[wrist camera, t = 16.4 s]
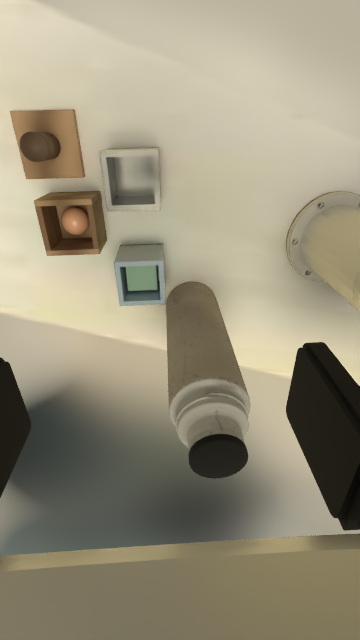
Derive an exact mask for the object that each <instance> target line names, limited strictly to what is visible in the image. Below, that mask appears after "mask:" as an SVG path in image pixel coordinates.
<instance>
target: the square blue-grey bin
mask: <svg viewBox="0 0 360 640" xmlns="http://www.w3.org/2000/svg"><path fill="white" fill-rule="evenodd" d="M153 265H157V272H158V290H141V291H128V284H127V275H126V267H127V266H153ZM114 266H115V274H116V281H117V289H118V296H119V304H120V306H130V305H154V304H165V274H164V254H163V244H143V245H120V248H119V251H118V253H117V256H116V258H115V261H114Z"/></svg>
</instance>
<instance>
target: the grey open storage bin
mask: <svg viewBox="0 0 360 640" xmlns="http://www.w3.org/2000/svg"><path fill="white" fill-rule="evenodd" d="M99 152H100V160H101V167H102V175H103V182H104V190H105V198H106V205H107V211H133V210H161V193H160V173H159V152H158V147H156V148H118V149H106V150H101V151H99Z"/></svg>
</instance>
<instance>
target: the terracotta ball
mask: <svg viewBox="0 0 360 640" xmlns="http://www.w3.org/2000/svg"><path fill="white" fill-rule="evenodd" d="M61 221H62V225H63V227H64V229H65V230H66V231H67V232H68V233H70V234H73V235H80V234H83V233H84V232H86V231H87V229H88V227H89V218H88V215H87V214H86V213H85V212H84V211H83V210H82V209H80V208H77V207H71V208H69V209H67V210H65V212H64V213H63V215H62V219H61Z"/></svg>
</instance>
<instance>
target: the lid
mask: <svg viewBox="0 0 360 640" xmlns="http://www.w3.org/2000/svg"><path fill="white" fill-rule="evenodd" d="M10 114H11V118H12V122H13V126H14V131H15V135H16V139H17V143H18V147H19V151H20V155H21V159H22V163H23V167H24V171H25V176H26V179H44V178H78V177H85V173H84V167H83V160H82V154H81V148H80V141H79V135H78V129H77V122H76V116H75V110H43V111H10Z"/></svg>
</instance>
